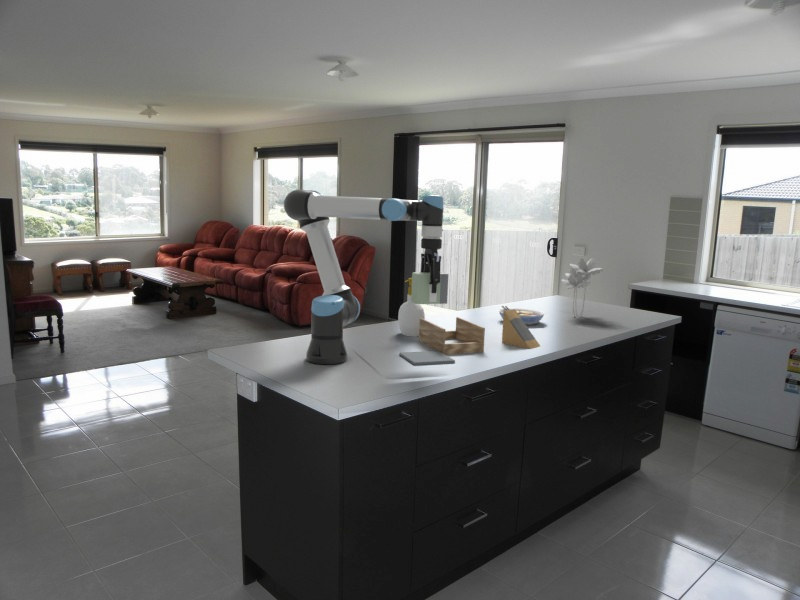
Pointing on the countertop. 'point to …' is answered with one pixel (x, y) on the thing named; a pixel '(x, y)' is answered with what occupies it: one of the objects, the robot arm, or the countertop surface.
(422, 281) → the capped box
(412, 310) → the soap bottle
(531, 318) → the ramen bowl
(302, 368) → the countertop surface
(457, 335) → the wooden display shelf
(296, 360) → the countertop surface
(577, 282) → the flower bouquet
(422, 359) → the slate mat
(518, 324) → the sandwich container
